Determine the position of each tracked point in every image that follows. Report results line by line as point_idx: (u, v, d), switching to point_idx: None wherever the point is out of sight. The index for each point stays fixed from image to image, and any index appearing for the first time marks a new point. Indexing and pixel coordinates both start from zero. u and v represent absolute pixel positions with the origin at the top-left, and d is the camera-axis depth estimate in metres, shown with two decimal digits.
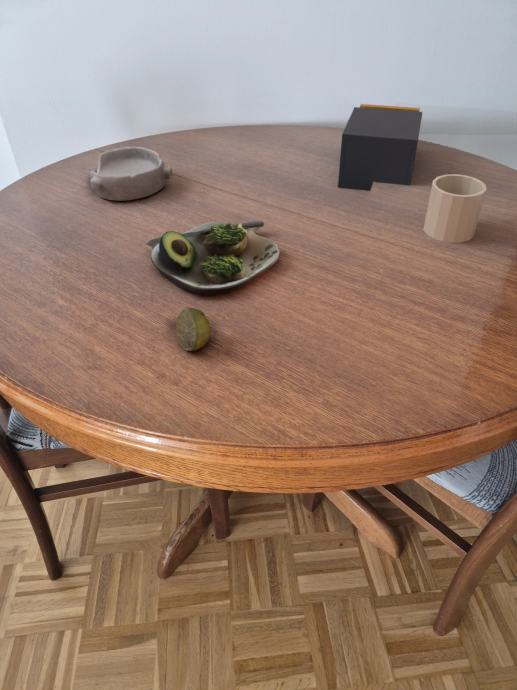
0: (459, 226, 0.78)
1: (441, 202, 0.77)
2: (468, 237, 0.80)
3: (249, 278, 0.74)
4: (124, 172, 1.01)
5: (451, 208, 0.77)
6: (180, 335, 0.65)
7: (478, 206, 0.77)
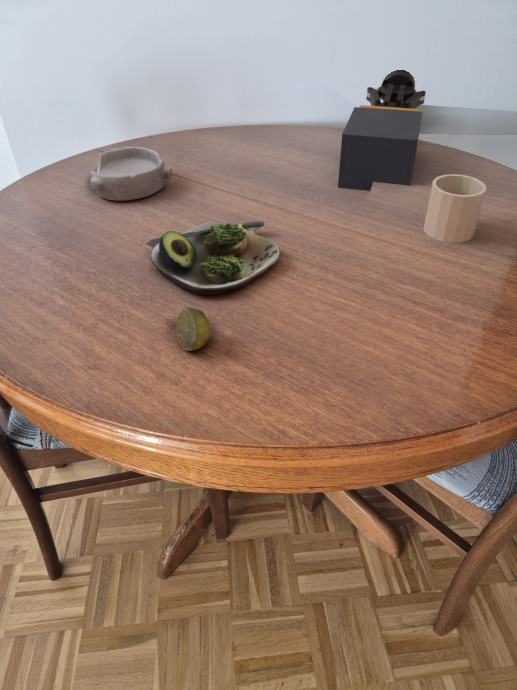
0: (459, 226, 0.78)
1: (441, 202, 0.77)
2: (468, 237, 0.80)
3: (249, 278, 0.74)
4: (124, 172, 1.01)
5: (451, 208, 0.77)
6: (180, 335, 0.65)
7: (478, 206, 0.77)
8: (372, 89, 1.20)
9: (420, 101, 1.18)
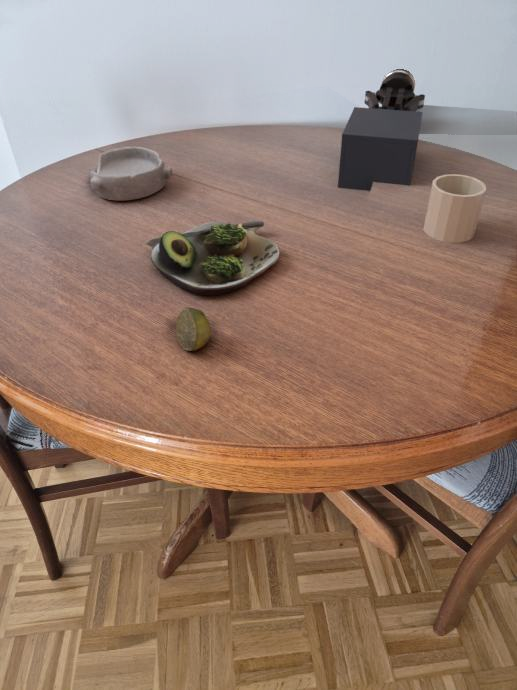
0: (459, 226, 0.78)
1: (441, 202, 0.77)
2: (468, 237, 0.80)
3: (249, 278, 0.74)
4: (124, 172, 1.01)
5: (451, 208, 0.77)
6: (180, 335, 0.65)
7: (478, 206, 0.77)
8: (371, 92, 1.17)
9: (419, 105, 1.16)
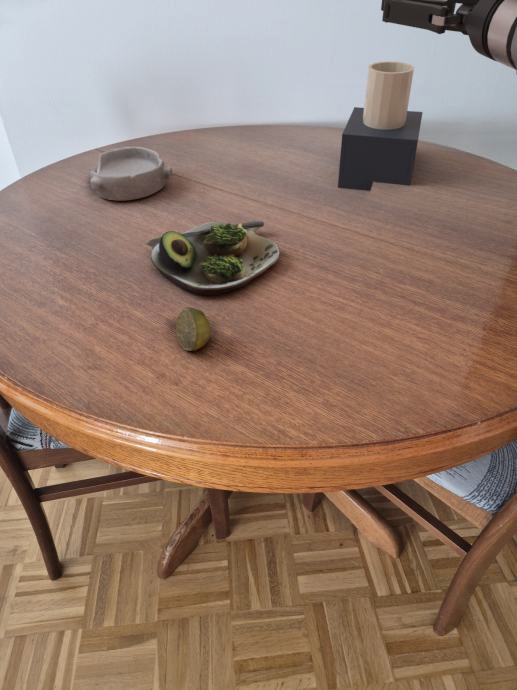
0: (391, 103, 0.91)
1: (375, 81, 0.90)
2: (400, 115, 0.92)
3: (249, 278, 0.74)
4: (124, 172, 1.01)
5: (383, 85, 0.89)
6: (180, 335, 0.65)
7: (407, 84, 0.89)
8: None
9: (431, 23, 0.64)
